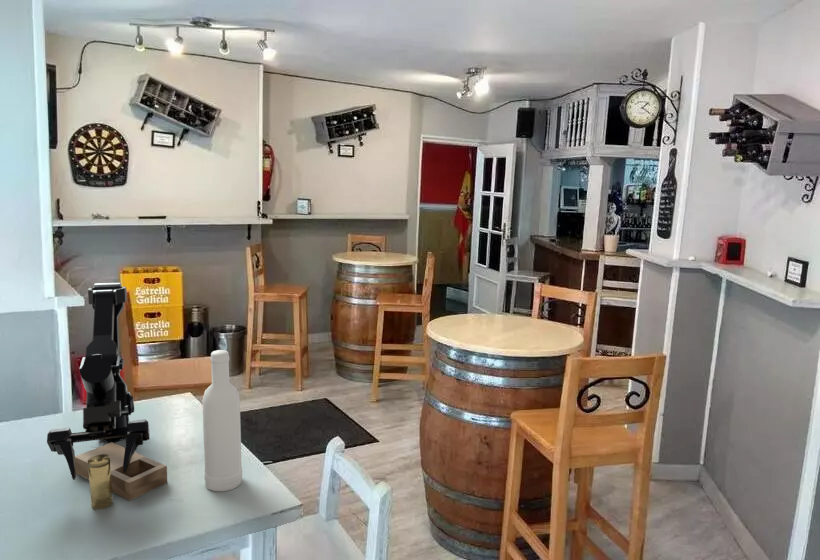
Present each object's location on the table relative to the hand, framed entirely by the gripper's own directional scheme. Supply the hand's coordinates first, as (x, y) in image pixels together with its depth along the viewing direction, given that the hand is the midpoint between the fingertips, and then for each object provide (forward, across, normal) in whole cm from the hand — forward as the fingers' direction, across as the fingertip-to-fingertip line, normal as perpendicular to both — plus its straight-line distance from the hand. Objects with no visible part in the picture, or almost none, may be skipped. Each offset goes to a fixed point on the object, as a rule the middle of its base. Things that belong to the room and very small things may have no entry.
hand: (99, 475), depth 127 cm
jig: (-3, +3, +13) cm, 14 cm away
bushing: (+4, 0, +6) cm, 7 cm away
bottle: (+3, +24, +7) cm, 25 cm away
